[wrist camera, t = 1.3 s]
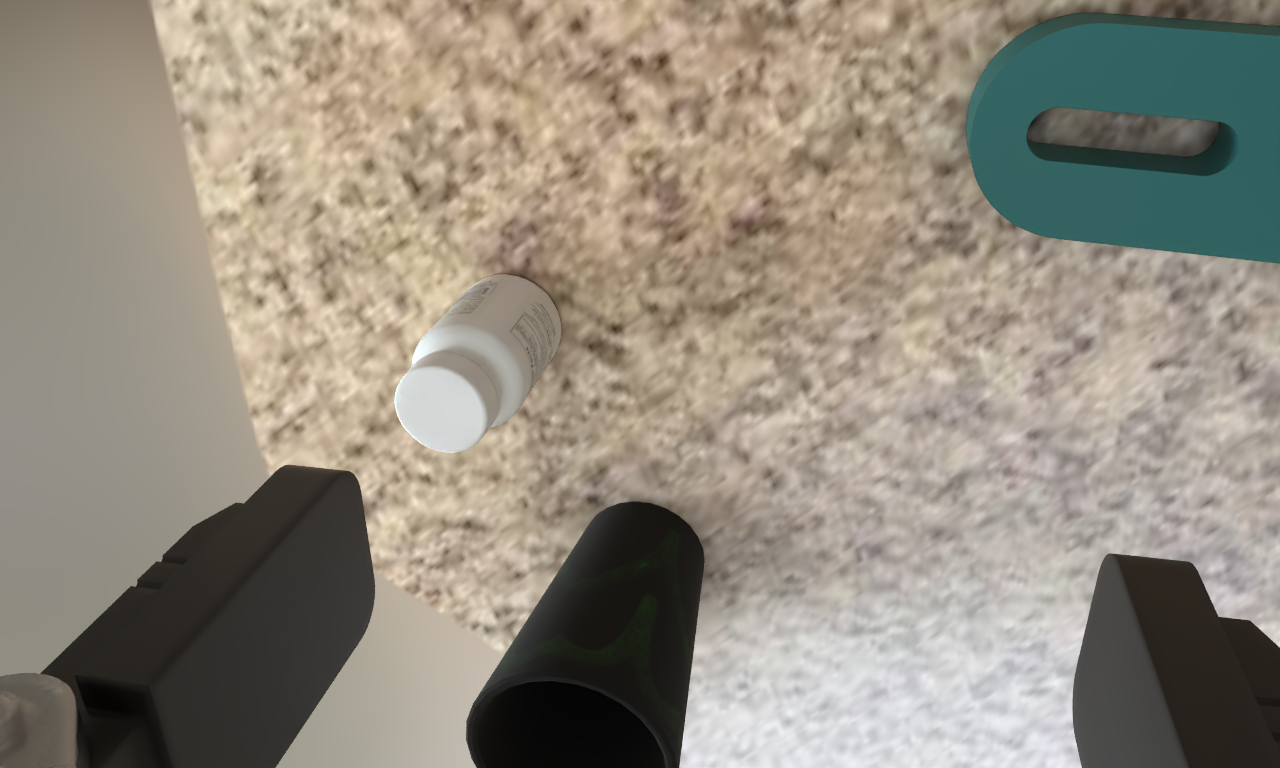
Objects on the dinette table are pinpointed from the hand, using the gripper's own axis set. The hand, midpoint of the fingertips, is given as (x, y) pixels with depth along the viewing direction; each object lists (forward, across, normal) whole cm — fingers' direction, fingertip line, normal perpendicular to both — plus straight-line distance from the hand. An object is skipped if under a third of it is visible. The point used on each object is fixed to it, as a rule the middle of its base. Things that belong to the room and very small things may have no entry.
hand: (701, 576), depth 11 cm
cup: (+28, +6, +21) cm, 36 cm away
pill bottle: (+28, +12, +10) cm, 32 cm away
